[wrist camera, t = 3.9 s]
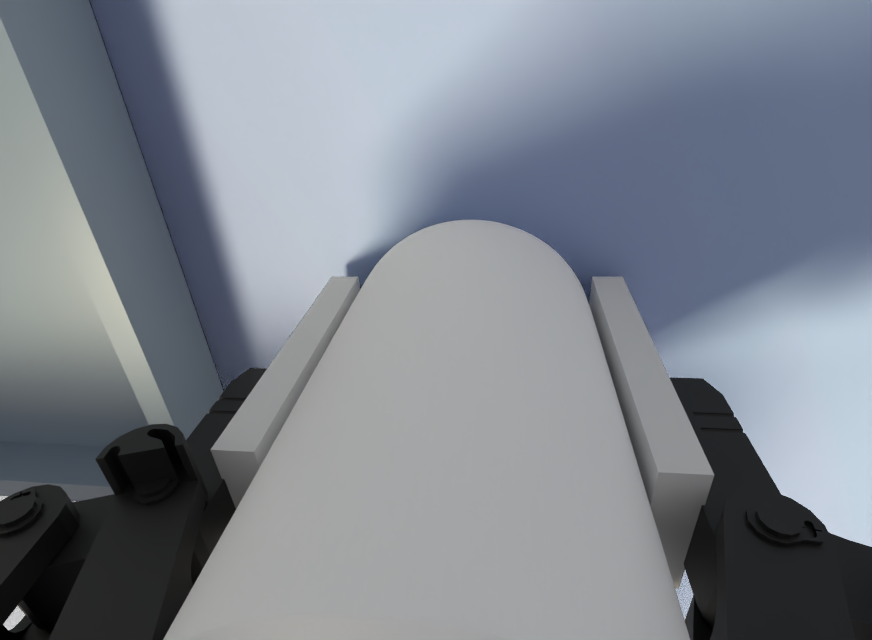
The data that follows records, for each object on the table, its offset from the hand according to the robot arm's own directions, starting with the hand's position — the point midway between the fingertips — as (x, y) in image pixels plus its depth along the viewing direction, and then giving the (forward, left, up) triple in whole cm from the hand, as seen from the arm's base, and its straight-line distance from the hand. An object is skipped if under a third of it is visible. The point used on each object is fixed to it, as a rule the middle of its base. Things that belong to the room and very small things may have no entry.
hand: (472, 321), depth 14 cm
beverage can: (0, 0, -1) cm, 1 cm away
